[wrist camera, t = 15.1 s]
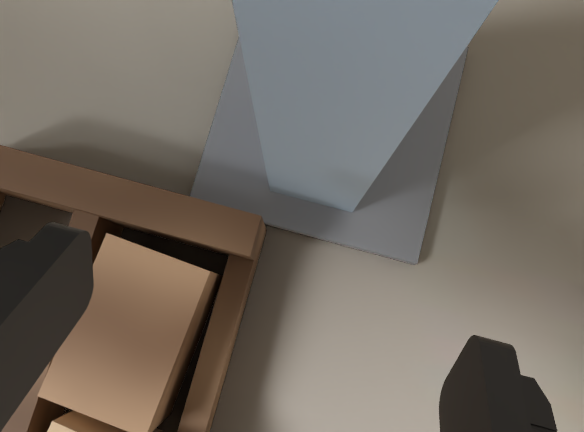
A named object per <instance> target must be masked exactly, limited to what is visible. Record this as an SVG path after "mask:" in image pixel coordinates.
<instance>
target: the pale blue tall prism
mask: <svg viewBox="0 0 584 432" xmlns="http://www.w3.org/2000/svg"><path fill="white" fill-rule="evenodd" d="M497 2H498V0H232V3H233V8H234V13H235V18H236V23H237V28H238V33H239V38H240V43H241V48H242V53H243V58H244V63H245V68H246V73H247V78H248V83H249V88H250V93H251V98H252V103H253V108H254V113H255V118H256V123H257V128H258V133H259V138H260V143H261V148H262V153H263V158H264V163H265V168H266V173H267V178H268V183H269V188H270V191H272V192H276V193H279V194H283V195H287V196H291V197H295V198H298V199H302V200H306V201H310V202H314V203H318V204H321V205H325V206H329V207H333V208H337V209H340V210H344V211H348V212H353V211H354V209H355V208H356V206H357V205H358V203H359V202H360V200H361V199H362V198H363V196H364V195H365V193H366V192H367V190H368V189H369V187H370V186H371V184H372V183H373V182H374V180H375V179H376V177H377V176H378V174H379V173H380V171H381V170H382V169H383V167H384V166H385V164H386V163H387V161H388V160H389V158H390V157H391V155H392V154H393V153H394V151H395V150H396V148H397V147H398V145H399V144H400V142H401V141H402V140H403V138H404V137H405V135H406V134H407V132H408V131H409V129H410V128H411V126H412V125H413V124H414V122H415V121H416V119H417V118H418V116H419V115H420V113H421V112H422V111H423V109H424V108H425V106H426V105H427V103H428V102H429V100H430V99H431V98H432V96H433V95H434V93H435V92H436V90H437V89H438V87H439V86H440V84H441V83H442V82H443V80H444V79H445V77H446V76H447V74H448V73H449V71H450V70H451V69H452V67H453V66H454V64H455V63H456V61H457V60H458V58H459V57H460V55H461V54H462V53H463V51H464V50H465V48H466V47H467V45H468V44H469V42H470V41H471V40H472V38H473V37H474V35H475V34H476V32H477V31H478V29H479V28H480V26H481V25H482V24H483V22H484V21H485V19H486V18H487V16H488V15H489V13H490V12H491V11H492V9H493V8H494V6H495V5H496V3H497Z"/></svg>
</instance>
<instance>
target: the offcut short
mask: <svg viewBox="0 0 584 432" xmlns="http://www.w3.org/2000/svg"><path fill="white" fill-rule="evenodd" d="M222 277H223V276H222V275H220V274H217V273H214V272H211V271H209V270H206V269H203V268H201V267H198V266H195V265H193V264H190V263H187V262H185V261H182V260H179V259H177V258H174V257H171V256H168V255H166V254H163V253H160V252H158V251H155V250H152V249H150V248H147V247H144V246H142V245H139V244H136V243H133V242H131V241H128V240H125V239H122V238H119V237H117V236H114V235H111V234H108V233H106V236H105V238H104V240H103V243H102V245H101V247H100V250H99V252H98V254H97V257H96V259H95V261H94V264H93V279H94V287H93V293H92V297H91V300H90V302H89V305H88V307H87V309H86V311H85V312H84V314H83V315H82V317H81V318H80V319H79V321H78V322H77V324H76V325H75V327H74V328H73V329H72V331H71V332H70V334H69V335H68V337H67V338H66V339H65V341H64V342H63V344H62V345H61V347H60V348H59V349H58V351H57V352H56V354H55V355H54V358H53V360H52V363H51V365H50V367H49V370H48V372H47V374H46V377H45V379H44V381H43V384H42V386H41V388H40V391H39V393H38V395H37V396H39V397H41V398H44V399H46V400H49V401H51V402H54V403H56V404H59V405H61V406H64V407H67V408H69V409H72V410H74V411H77V412H79V413H82V414H84V415H87V416H89V417H92V418H95V419H97V420H100V421H102V422H105V423H107V424H110V425H112V426H115V427H117V428H120V429H123V430H125V431H128V432H152V431H153V430H154V429H155V428H157V427H158V426H159V425H160V424H161V423H162V422H163V421H164V420H165V419H166V418H167V417H168V416H169V415H170V414H171V412H172V410H173V407H174V404H175V402H176V399H177V397H178V394H179V391H180V389H181V386H182V384H183V381H184V378H185V376H186V373H187V371H188V368H189V365H190V363H191V360H192V358H193V355H194V353H195V350H196V347H197V345H198V342H199V340H200V337H201V334H202V332H203V329H204V327H205V324H206V321H207V319H208V316H209V314H210V311H211V308H212V306H213V303H214V301H215V298H216V295H217V293H218V290H219V288H220V284H221V281H222Z"/></svg>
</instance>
